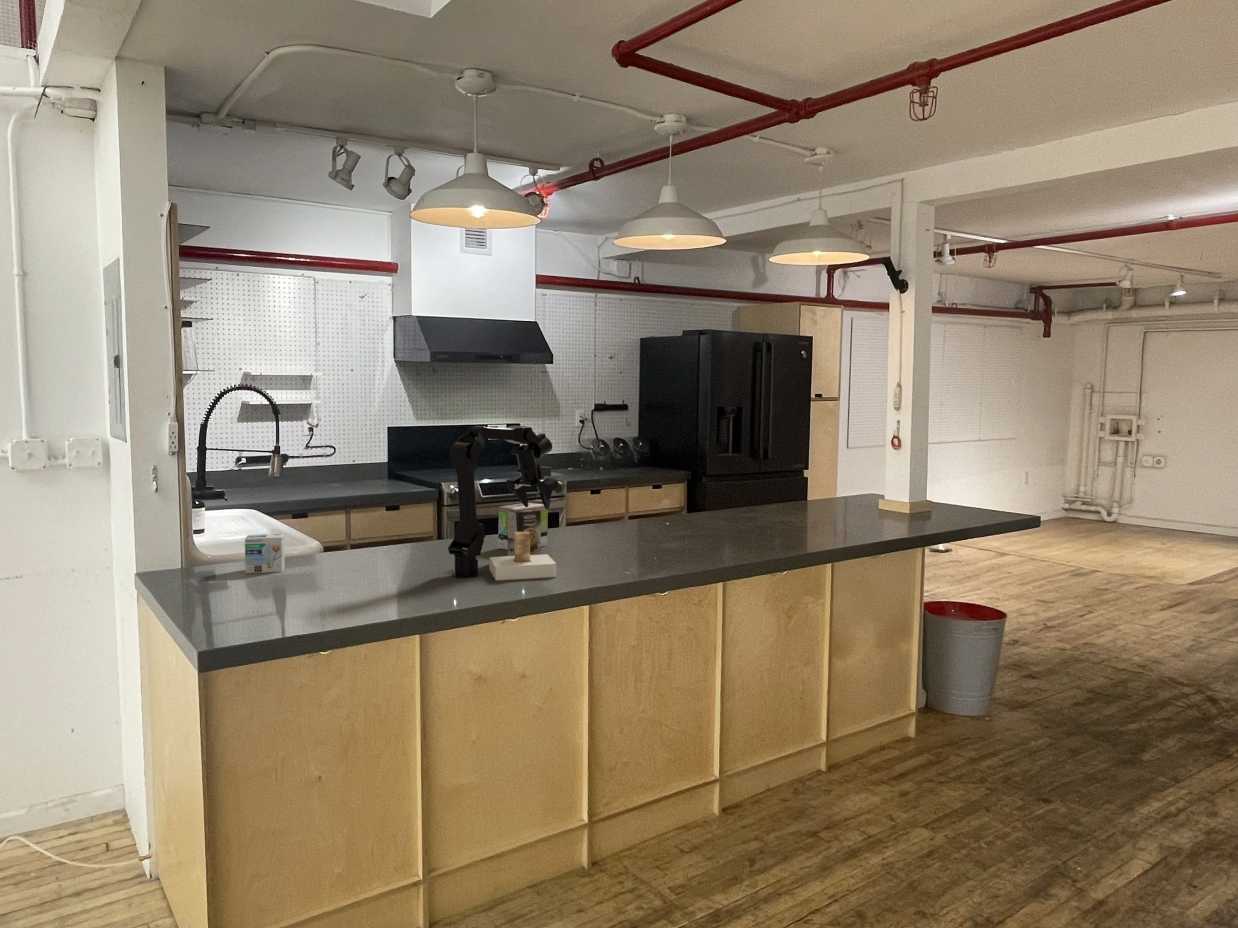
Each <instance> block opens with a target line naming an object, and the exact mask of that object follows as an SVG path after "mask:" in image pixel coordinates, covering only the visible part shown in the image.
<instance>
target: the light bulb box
mask: <svg viewBox="0 0 1238 928" xmlns="http://www.w3.org/2000/svg"><path fill="white" fill-rule="evenodd" d="M284 538H285V535H284V533H265V534H264V533H263V534H247V536H246V537H245V538H244V559H245V560H244V561H245V564H244V566H245V574H263V573H264V574H265V573H283V571H284V569H285V565H286V563H285V562H286V561H285V539H284Z"/></svg>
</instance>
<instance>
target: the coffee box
mask: <svg viewBox="0 0 1238 928" xmlns="http://www.w3.org/2000/svg"><path fill="white" fill-rule="evenodd" d="M524 531H528V532H529V533H530V555H542V554H541V551H542V550H541V511H540V510H535V509H522V510H512V511H508V550H507V556H515V532H524Z"/></svg>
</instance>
